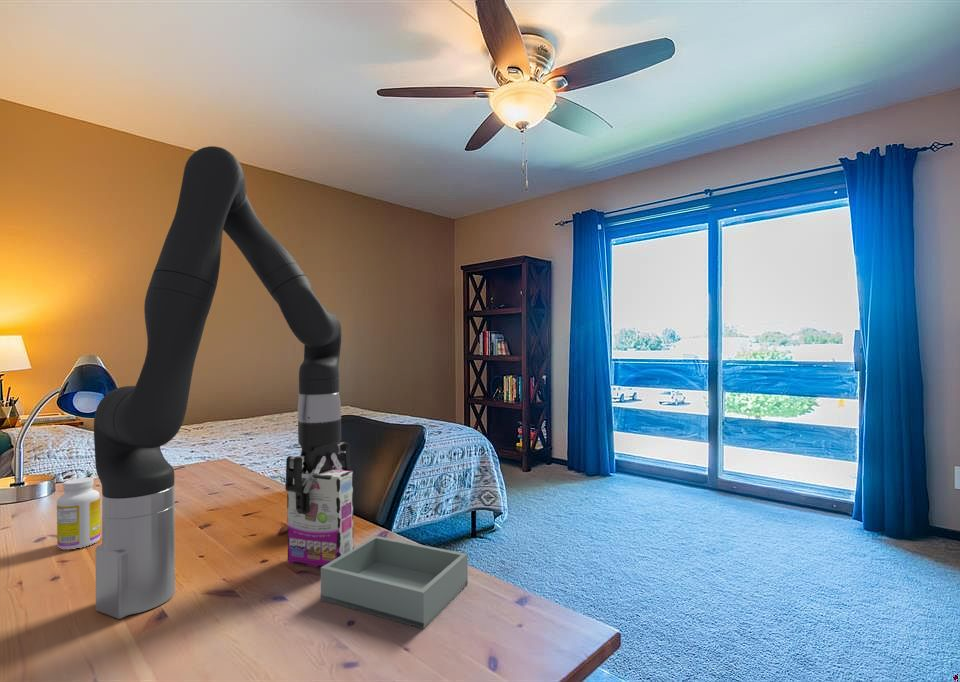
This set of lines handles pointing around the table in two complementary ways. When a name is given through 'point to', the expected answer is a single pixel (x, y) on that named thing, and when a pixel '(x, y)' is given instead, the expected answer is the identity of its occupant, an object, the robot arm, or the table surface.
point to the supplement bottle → (78, 514)
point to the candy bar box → (322, 520)
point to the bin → (395, 580)
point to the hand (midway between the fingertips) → (320, 505)
